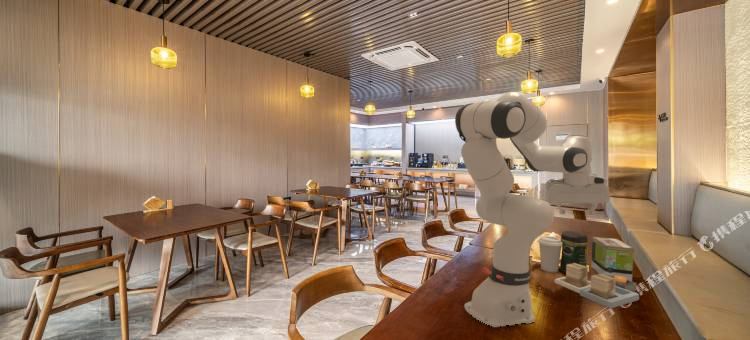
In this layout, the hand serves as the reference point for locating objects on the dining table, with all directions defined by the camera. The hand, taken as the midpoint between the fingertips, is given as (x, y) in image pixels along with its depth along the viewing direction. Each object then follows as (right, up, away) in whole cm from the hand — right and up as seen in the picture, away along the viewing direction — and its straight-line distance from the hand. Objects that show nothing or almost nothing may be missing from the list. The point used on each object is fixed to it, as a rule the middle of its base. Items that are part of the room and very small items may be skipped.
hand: (576, 214), depth 112 cm
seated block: (+4, -29, -8) cm, 30 cm away
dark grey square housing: (+18, -30, +1) cm, 35 cm away
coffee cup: (+2, -29, +21) cm, 36 cm away
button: (+18, -28, +1) cm, 33 cm away
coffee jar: (+11, -29, +18) cm, 36 cm away
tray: (+2, -30, +3) cm, 30 cm away
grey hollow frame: (+7, -30, -6) cm, 32 cm away
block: (+2, -29, +3) cm, 29 cm away
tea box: (+27, -29, +17) cm, 43 cm away
